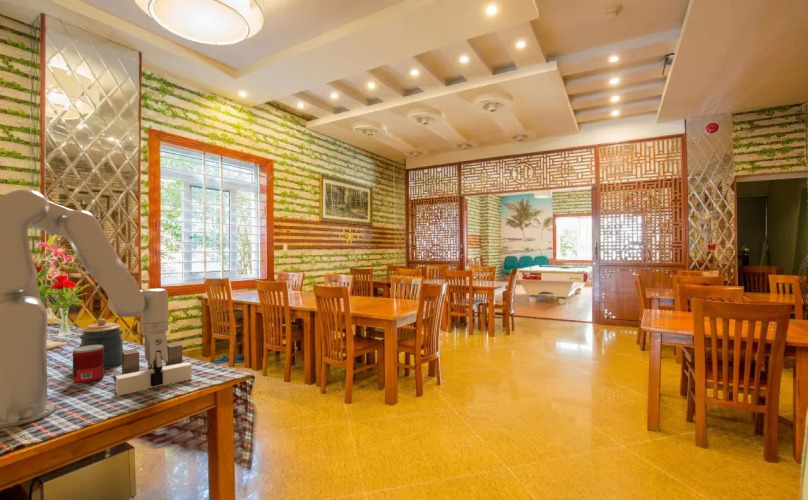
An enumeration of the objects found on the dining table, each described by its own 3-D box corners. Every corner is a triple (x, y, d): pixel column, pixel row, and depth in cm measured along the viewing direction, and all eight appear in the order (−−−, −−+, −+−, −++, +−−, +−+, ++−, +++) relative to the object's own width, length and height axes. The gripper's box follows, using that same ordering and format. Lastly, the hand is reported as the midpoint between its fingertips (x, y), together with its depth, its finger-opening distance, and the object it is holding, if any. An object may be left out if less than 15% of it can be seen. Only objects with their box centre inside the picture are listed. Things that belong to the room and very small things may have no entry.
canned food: (109, 377, 128) (109, 345, 128) (84, 385, 121) (83, 351, 121) (93, 375, 130) (92, 343, 130) (67, 383, 123) (66, 349, 123)
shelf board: (191, 379, 127) (191, 364, 127) (117, 395, 113) (117, 379, 113) (188, 376, 129) (188, 361, 129) (115, 391, 116) (115, 375, 116)
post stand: (190, 369, 136) (189, 345, 136) (118, 384, 122) (117, 357, 121) (182, 363, 143) (182, 340, 143) (113, 376, 129) (113, 350, 129)
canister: (120, 357, 150) (120, 314, 150) (126, 365, 141) (125, 318, 141) (77, 365, 141) (77, 318, 141) (81, 373, 132) (80, 323, 132)
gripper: (174, 329, 117) (175, 387, 118) (162, 321, 129) (162, 373, 130) (145, 333, 112) (146, 393, 112) (135, 324, 124) (136, 379, 124)
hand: (155, 382), depth 121 cm, fingers closed on shelf board, 4 cm apart
